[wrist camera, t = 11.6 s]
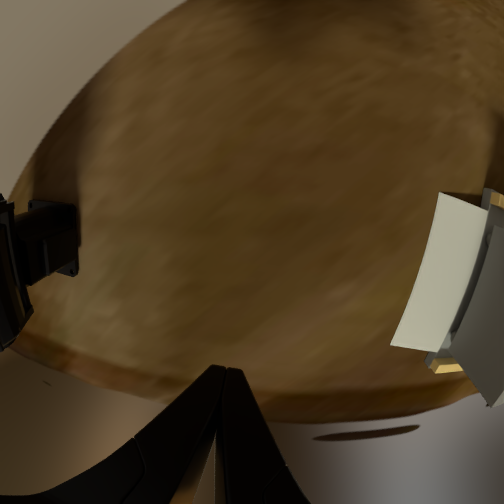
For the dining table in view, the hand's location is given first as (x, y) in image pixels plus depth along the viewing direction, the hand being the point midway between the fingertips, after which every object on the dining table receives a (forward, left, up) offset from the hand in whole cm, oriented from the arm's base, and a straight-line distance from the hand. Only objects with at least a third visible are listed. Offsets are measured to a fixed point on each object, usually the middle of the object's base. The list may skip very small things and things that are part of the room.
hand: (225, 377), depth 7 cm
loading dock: (+24, 0, -14) cm, 27 cm away
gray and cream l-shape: (+25, 0, -12) cm, 28 cm away
